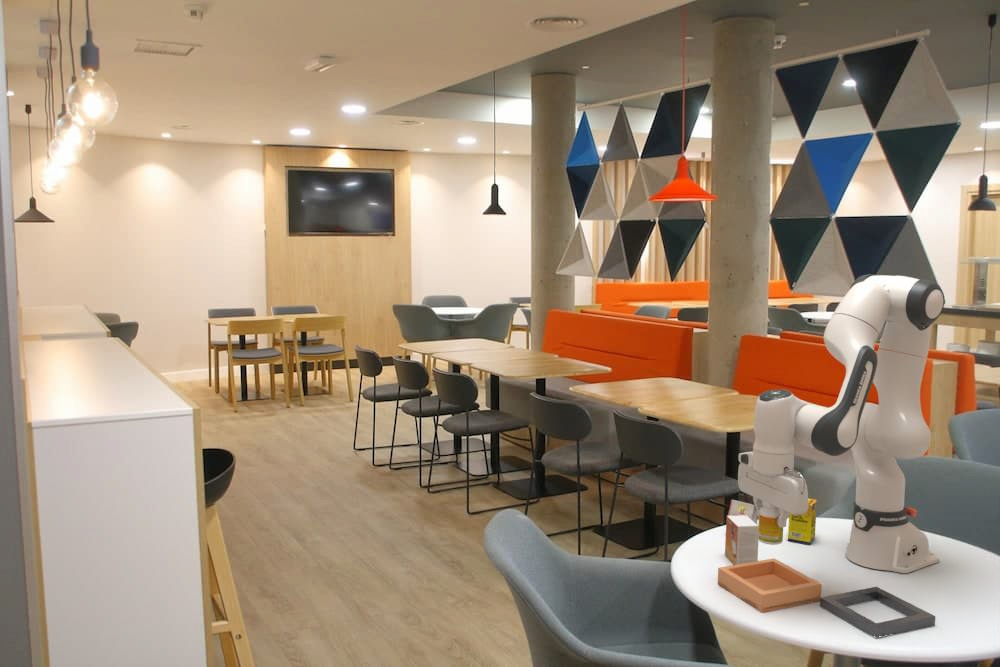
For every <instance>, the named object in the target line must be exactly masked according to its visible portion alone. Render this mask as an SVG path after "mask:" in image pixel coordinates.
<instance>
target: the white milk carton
mask: <svg viewBox="0 0 1000 667" xmlns="http://www.w3.org/2000/svg"><path fill="white" fill-rule="evenodd" d="M729 504H730V505H729V509H728V512H727V513H728V514H727V516H739V515H747V516H748V517H749V518H750V519H751V520H752V521H754V522H755V523H756V524H757V525H758V516H757V515H756V510H757V509H756V507H755V504H752V503H748V502H743V501H740V500H735V499H731V500H730V503H729Z"/></svg>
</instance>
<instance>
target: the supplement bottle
mask: <svg viewBox="0 0 1000 667" xmlns="http://www.w3.org/2000/svg"><path fill="white" fill-rule="evenodd" d="M762 505H763V507H761V508H760V509H759V517H758V521H757V525H758V542H760V543H762V544H765V545H769V546H775V545H780V544H783V542H784V527H782V528H781V527H779V526H777V525H776V518H779V516H780V514H781V513H779V508H778V507H775V506H773V505H771V504H769V502H767V501H765V500H762Z"/></svg>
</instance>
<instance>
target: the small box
mask: <svg viewBox="0 0 1000 667" xmlns="http://www.w3.org/2000/svg"><path fill="white" fill-rule="evenodd" d="M725 522H726V523H725V524H726V526H725V541H724V542H725V545H724V555H725V556H726V557H727V558H728V559H729V560H730V561H731V562H732V564H733V565H737V564H743V563H749V562H755V561H759V560H758V558H759V556H758V555H759V540H758V523H757V524H756V523H755V522H754V521H752V520H751V519H750V518H749V517H748V516H747V515H739V516H728V515H726V521H725Z"/></svg>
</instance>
